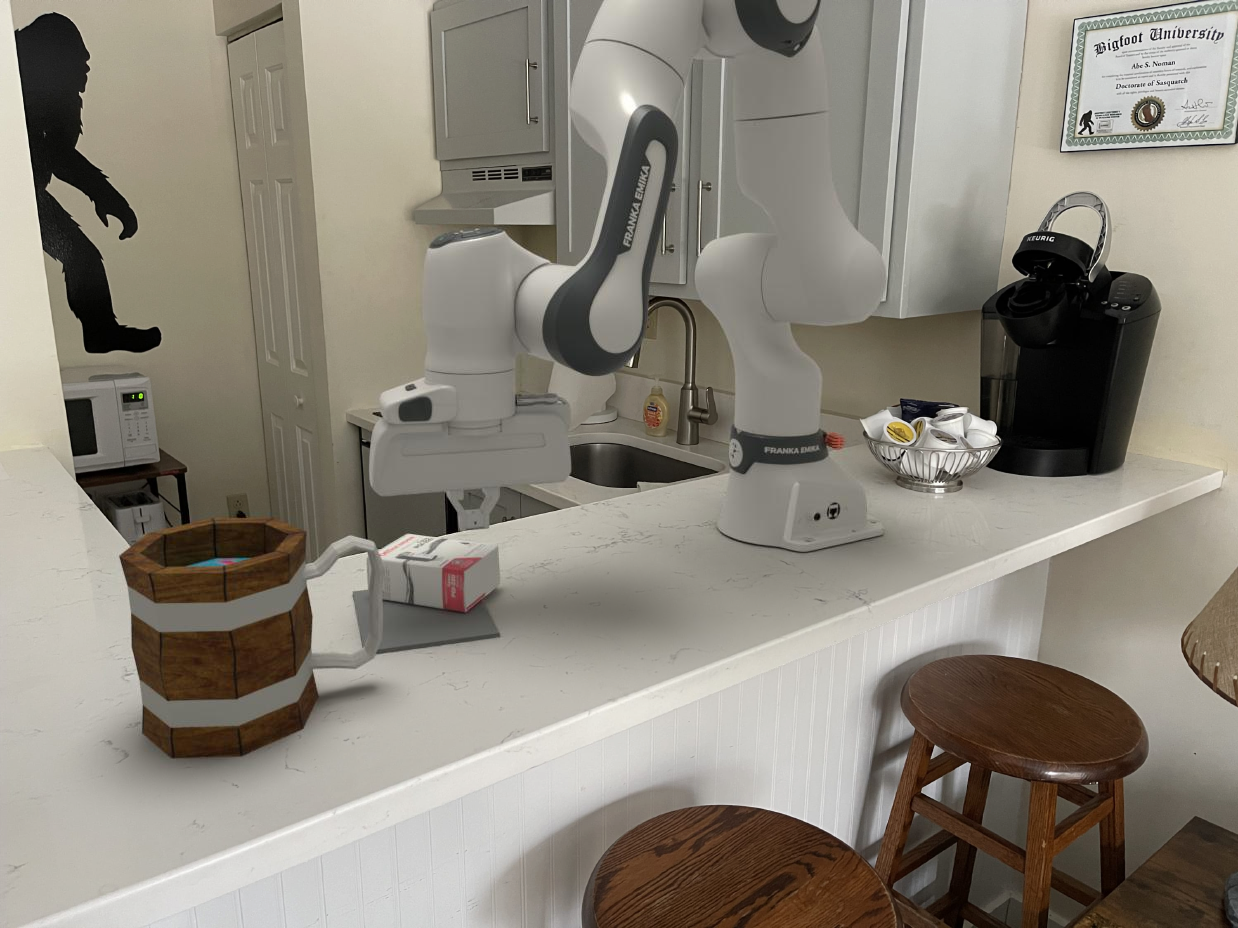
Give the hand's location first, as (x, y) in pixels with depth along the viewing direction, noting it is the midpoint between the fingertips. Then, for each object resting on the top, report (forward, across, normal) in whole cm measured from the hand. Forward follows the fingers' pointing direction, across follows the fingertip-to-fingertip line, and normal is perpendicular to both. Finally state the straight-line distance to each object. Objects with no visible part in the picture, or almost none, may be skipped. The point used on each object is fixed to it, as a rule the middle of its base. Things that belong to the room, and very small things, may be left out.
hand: (473, 528), depth 93 cm
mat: (+9, +6, 0) cm, 11 cm away
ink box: (+6, -1, -1) cm, 6 cm away
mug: (+9, +20, +14) cm, 26 cm away
